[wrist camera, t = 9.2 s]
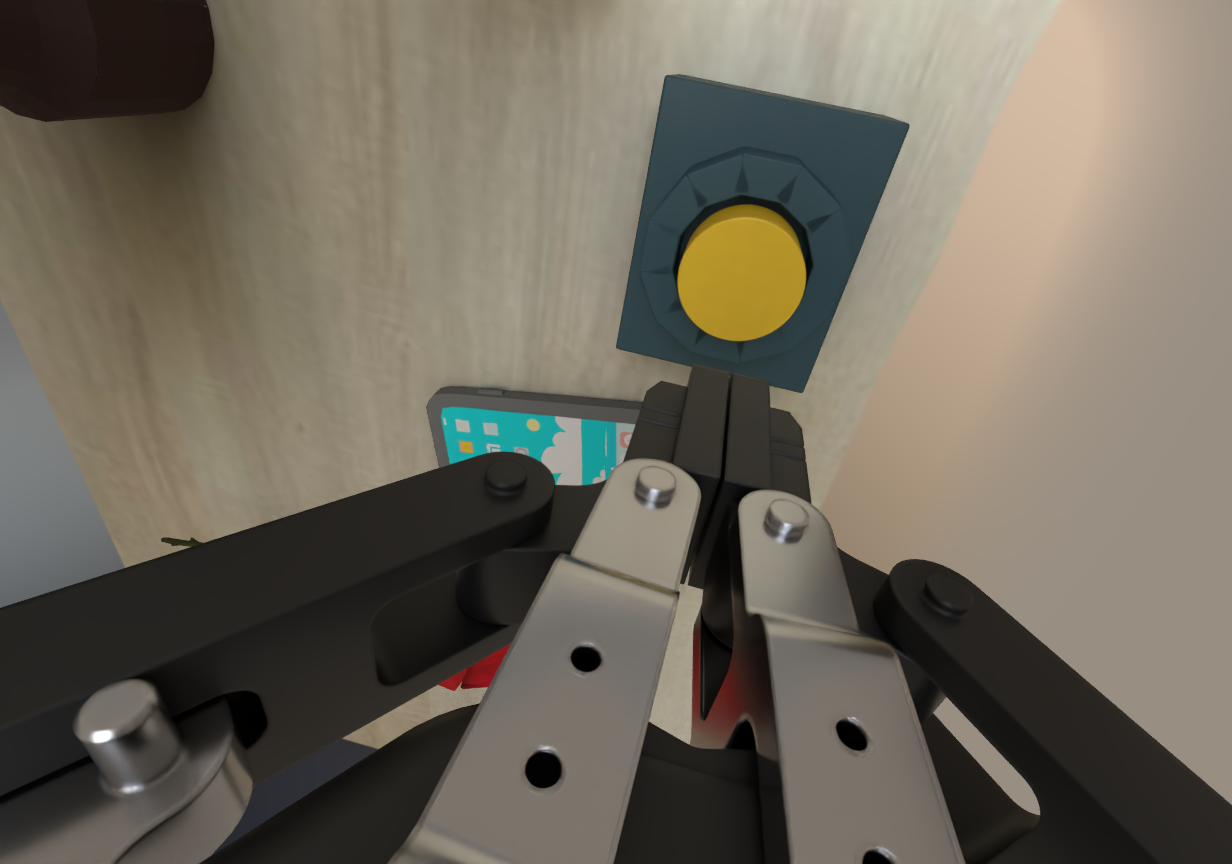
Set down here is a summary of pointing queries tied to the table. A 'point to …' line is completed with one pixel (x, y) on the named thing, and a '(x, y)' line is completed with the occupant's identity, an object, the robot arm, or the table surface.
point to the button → (742, 273)
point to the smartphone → (534, 430)
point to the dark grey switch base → (758, 175)
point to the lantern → (103, 57)
